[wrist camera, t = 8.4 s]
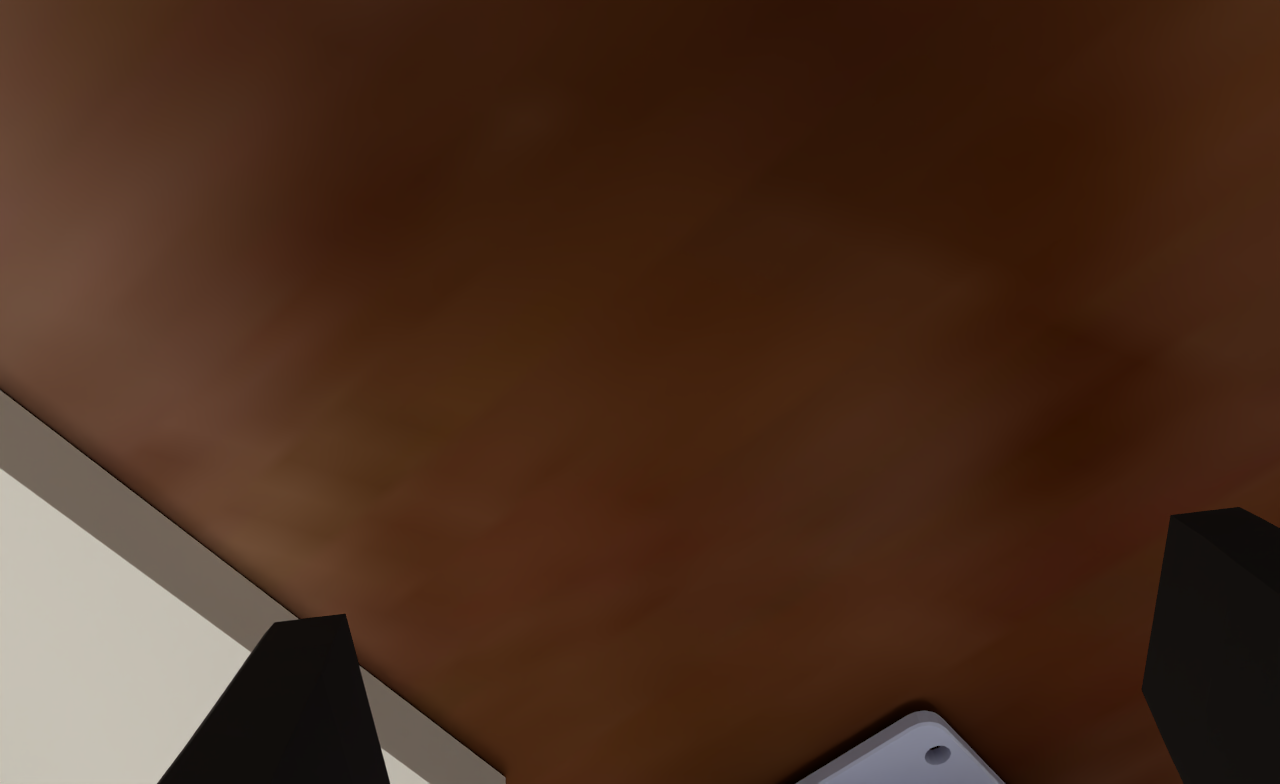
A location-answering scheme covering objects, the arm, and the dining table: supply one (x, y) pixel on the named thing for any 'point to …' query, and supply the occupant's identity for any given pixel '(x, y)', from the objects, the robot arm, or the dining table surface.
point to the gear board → (135, 631)
